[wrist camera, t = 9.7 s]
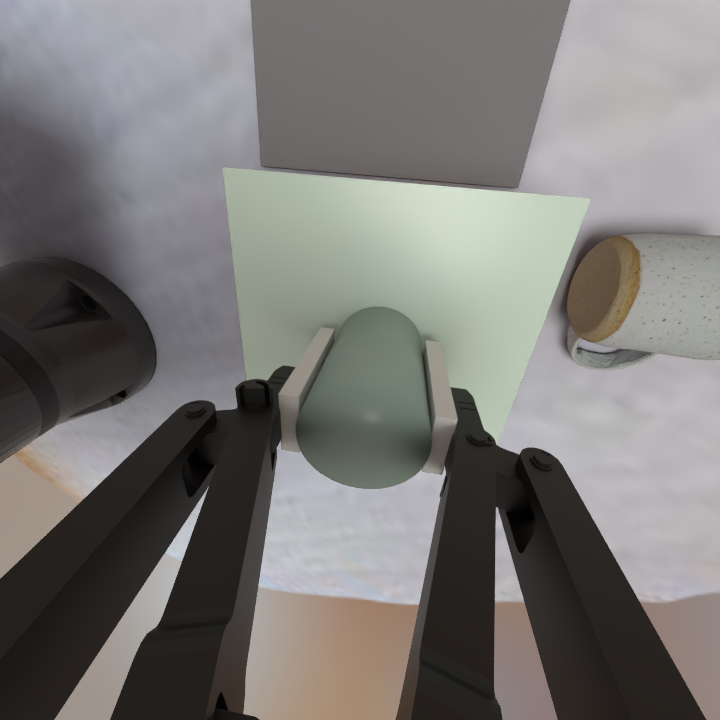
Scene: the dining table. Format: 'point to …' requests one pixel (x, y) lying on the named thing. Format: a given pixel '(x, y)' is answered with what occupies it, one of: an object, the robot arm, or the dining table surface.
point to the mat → (403, 85)
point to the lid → (391, 303)
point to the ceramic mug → (646, 299)
